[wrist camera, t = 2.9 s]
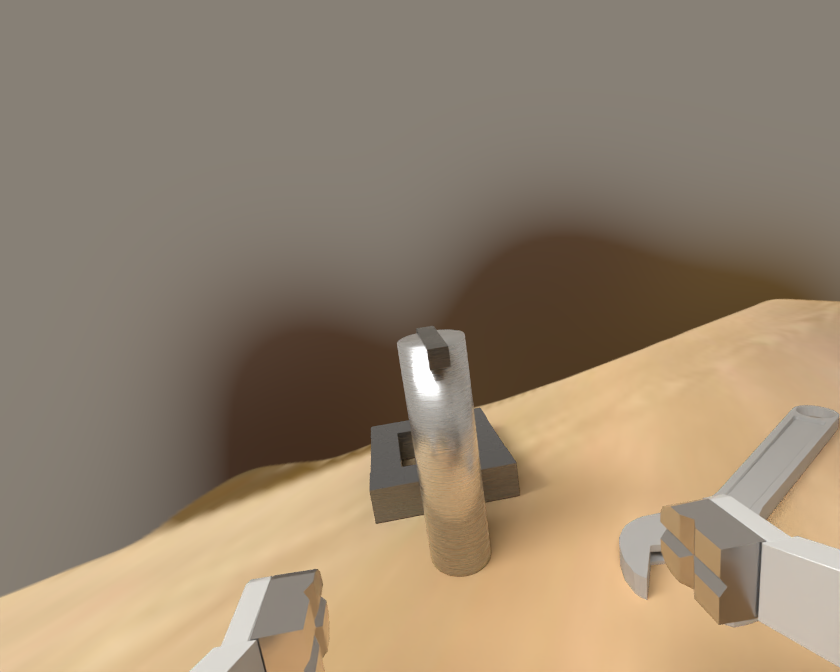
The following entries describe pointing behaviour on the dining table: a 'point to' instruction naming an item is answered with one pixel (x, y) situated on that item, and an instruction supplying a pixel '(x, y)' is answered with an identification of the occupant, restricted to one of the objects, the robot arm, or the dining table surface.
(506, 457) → the socket block
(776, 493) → the adjustable wrench
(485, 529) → the keyed metal peg
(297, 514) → the dining table surface
